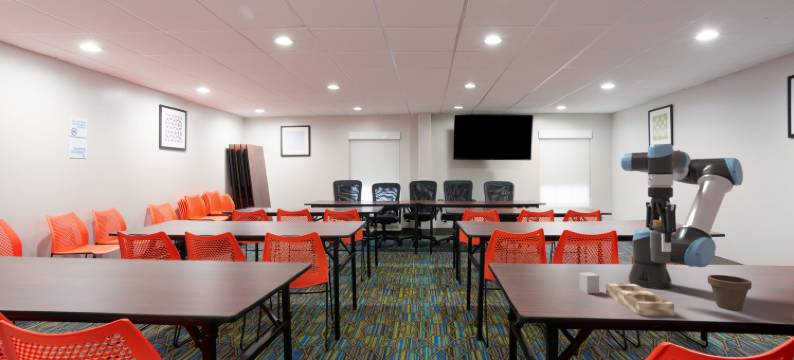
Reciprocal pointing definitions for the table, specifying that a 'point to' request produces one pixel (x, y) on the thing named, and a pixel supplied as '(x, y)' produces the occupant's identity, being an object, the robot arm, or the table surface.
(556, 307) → the table surface
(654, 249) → the bottle
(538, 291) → the table surface
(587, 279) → the square bit
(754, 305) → the table surface
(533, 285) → the table surface
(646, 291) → the bore block
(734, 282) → the flower pot
